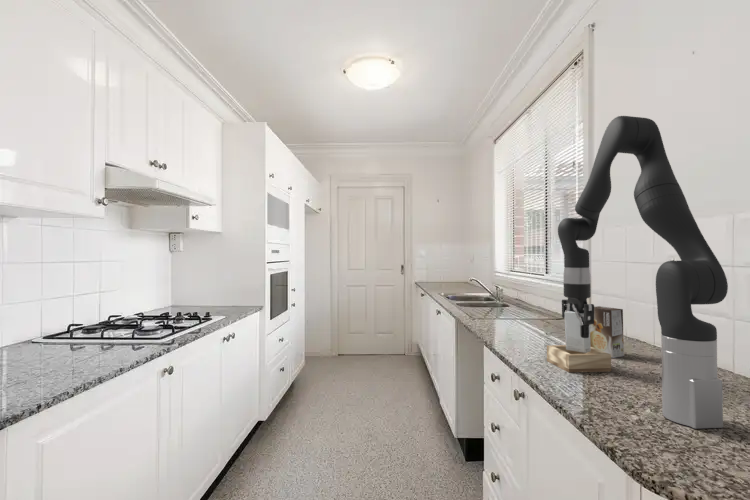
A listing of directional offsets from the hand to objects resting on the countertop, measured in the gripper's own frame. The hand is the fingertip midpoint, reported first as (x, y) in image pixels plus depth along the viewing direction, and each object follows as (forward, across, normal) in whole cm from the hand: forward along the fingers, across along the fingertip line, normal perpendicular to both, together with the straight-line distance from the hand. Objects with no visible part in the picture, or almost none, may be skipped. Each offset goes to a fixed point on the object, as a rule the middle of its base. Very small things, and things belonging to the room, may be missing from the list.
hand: (577, 335), depth 125 cm
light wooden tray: (+10, 0, 0) cm, 10 cm away
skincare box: (+5, 0, 0) cm, 5 cm away
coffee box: (+10, +13, -18) cm, 24 cm away
